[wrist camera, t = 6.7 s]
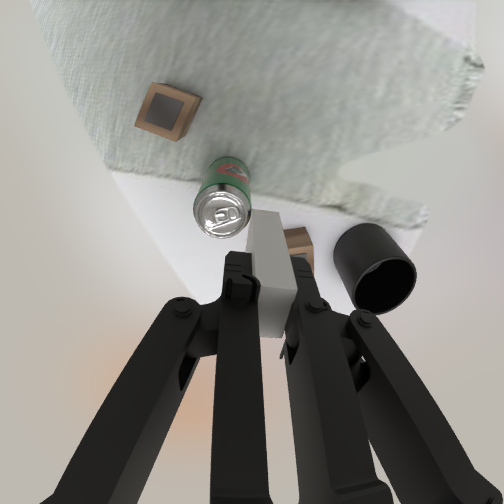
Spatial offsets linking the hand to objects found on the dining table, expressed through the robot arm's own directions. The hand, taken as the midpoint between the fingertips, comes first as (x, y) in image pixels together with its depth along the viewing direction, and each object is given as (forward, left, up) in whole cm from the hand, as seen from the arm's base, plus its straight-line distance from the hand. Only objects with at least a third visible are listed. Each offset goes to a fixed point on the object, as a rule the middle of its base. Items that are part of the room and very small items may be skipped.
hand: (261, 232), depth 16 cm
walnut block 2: (+11, +6, -19) cm, 23 cm away
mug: (+12, +18, -19) cm, 29 cm away
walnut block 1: (-6, -10, -19) cm, 22 cm away
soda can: (+2, -3, -19) cm, 19 cm away
